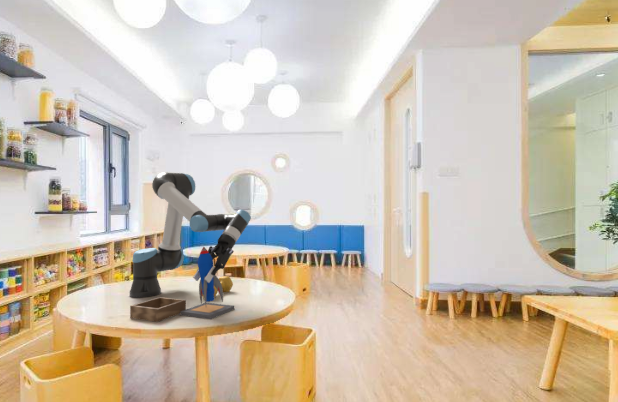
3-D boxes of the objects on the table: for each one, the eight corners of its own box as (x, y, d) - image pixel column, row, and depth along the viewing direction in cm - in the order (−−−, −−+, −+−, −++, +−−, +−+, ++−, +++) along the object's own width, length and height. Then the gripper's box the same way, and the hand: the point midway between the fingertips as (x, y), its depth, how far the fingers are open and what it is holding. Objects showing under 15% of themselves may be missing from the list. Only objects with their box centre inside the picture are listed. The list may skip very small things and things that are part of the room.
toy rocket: (206, 308, 161) (199, 248, 162) (190, 307, 166) (183, 249, 167) (224, 301, 170) (218, 244, 171) (209, 301, 175) (203, 245, 176)
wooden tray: (130, 317, 161) (130, 305, 161) (160, 308, 176) (159, 297, 176) (157, 321, 155) (157, 309, 155) (185, 311, 169) (185, 300, 169)
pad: (180, 315, 164) (180, 311, 164) (205, 305, 179) (205, 302, 179) (210, 319, 157) (210, 315, 157) (234, 309, 172) (234, 305, 172)
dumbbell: (214, 300, 190) (214, 283, 190) (198, 298, 193) (198, 282, 193) (234, 291, 208) (234, 276, 208) (219, 290, 211) (219, 275, 211)
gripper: (248, 244, 175) (221, 287, 162) (218, 242, 187) (191, 282, 173) (240, 233, 171) (211, 277, 158) (209, 232, 182) (180, 272, 169)
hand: (200, 279), depth 165 cm, fingers closed on toy rocket, 7 cm apart
